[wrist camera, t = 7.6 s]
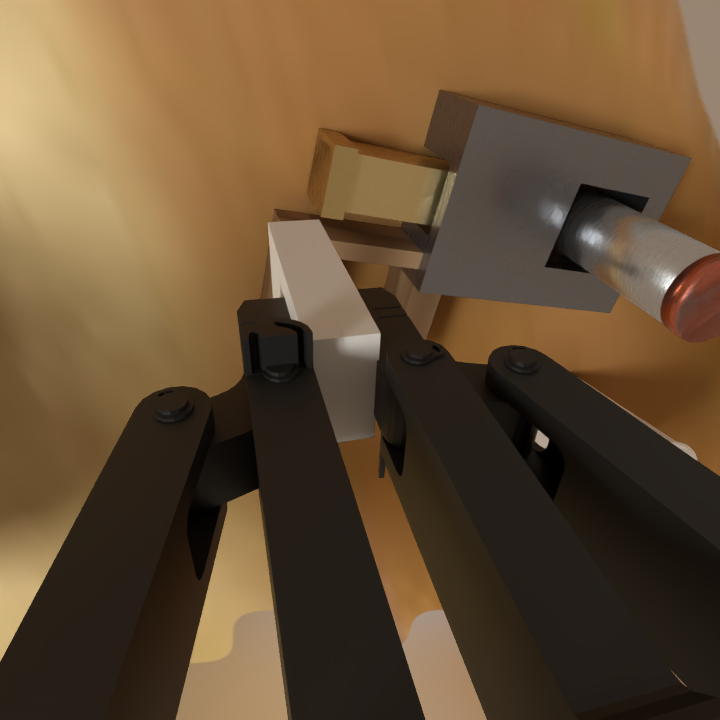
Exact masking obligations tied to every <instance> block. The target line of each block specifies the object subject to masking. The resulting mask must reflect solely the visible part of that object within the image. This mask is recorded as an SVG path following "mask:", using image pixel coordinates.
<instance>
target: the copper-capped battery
mask: <svg viewBox="0 0 720 720" xmlns="http://www.w3.org/2000/svg"><path fill="white" fill-rule="evenodd" d="M553 247H554V248H555V249H557V250H558V251H560V252H561V253H562V254H564V255H565V256H567V257H568V258H570V259H571V260H572V261H574V262H575V263H577V264H578V265H580V266H581V267H582V268H584V269H585V270H587V271H588V272H590V273H591V274H592V275H594V276H595V277H597V278H598V279H600V280H601V281H602V282H604V283H605V284H607V285H608V286H610V287H611V288H612V289H614V290H615V291H617V292H618V293H620V294H621V295H623V296H624V297H625V298H627V299H628V300H630V301H631V302H633V303H634V304H635V305H637V306H638V307H640V308H641V309H643V310H644V311H645V312H647V313H648V314H650V315H651V316H653V317H654V318H655V319H657V320H658V321H660V322H661V323H663V324H664V326H665V327H666V328H668V329H669V330H671V331H672V332H673V333H675V334H676V335H678V336H679V337H681V338H682V339H684V340H686V341H688V342H702V341H706V340H709V339H711V338H713V337H716V336H717V335H719V334H720V251H718V250H716V249H714V248H712V247H710V246H708V245H706V244H704V243H702V242H699V241H697V240H695V239H693V238H691V237H689V236H687V235H685V234H683V233H681V232H679V231H677V230H675V229H673V228H671V227H669V226H667V225H665V224H663V223H661V222H658V221H656V220H654V219H652V218H650V217H648V216H646V215H644V214H642V213H640V212H638V211H636V210H634V209H632V208H630V207H628V206H626V205H624V204H622V203H620V202H617V201H615V200H613V199H611V198H609V197H607V196H605V195H603V194H601V193H599V192H597V191H595V190H593V189H591V188H589V187H587V186H585V185H583V184H581V185H580V187H579V189H578V191H577V194H576V196H575V198H574V201H573V203H572V205H571V208H570V210H569V212H568V214H567V217H566V219H565V221H564V224H563V226H562V228H561V230H560V233H559V235H558V237H557V240H556V242H555V244H554V246H553Z"/></svg>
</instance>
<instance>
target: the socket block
mask: <svg viewBox="0 0 720 720" xmlns="http://www.w3.org/2000/svg"><path fill="white" fill-rule="evenodd" d="M424 146H425V147H426V148H428V149H429V150H431V151H433V152H434V153H436V154H437V155H439V156H440V157H442V158H443V159H445V160H446V161H448V162H449V163H451V165H450V168H449V171H448V175H447V178H446V181H445V184H444V188H443V191H442V194H441V197H440V201H439V204H438V207H437V210H436V213H435V217H434V220H433V223H432V226H430V225H424V224H417V223H411V222H405V221H403V223H402V227H401V229H402V230H403V231H404V232H405V233H406V234H407V236H408V237H409V238H410V239H411V240H412V241H413V242H414V243H415V244H416V245H417V247H418V248H419V249H420V250H421V251H422V252H423V256H422V259H421V262H420V265H419V269H413V268H405V267H400V268H401V269H402V271H403V272H404V273H405V274H406V276H407V277H408V278H409V280H410V281H411V282H412V284H413V285H414V286H415V287H416V289H417V290H418V291H419V292H420V293H429V294H438V295H448V296H457V297H466V298H475V299H484V300H494V301H503V302H512V303H521V304H530V305H540V306H549V307H558V308H567V309H576V310H586V311H595V312H604V313H610V312H611V310H612V308H613V306H614V304H615V303H616V301H617V299H618V297H619V295H620V293H618V292H617V291H615V290H614V289H612V288H611V287H610V286H608V285H607V284H605V283H604V282H602V281H601V280H600V279H598V278H597V277H595V276H594V275H592V274H591V273H590V272H588V271H587V270H585V269H584V268H582V267H581V266H580V265H578V264H577V263H575V262H574V261H572V260H571V259H570V258H568V257H567V256H565V255H564V254H562V253H561V252H560V251H558V250H557V249H555V248H554V247H553V246H554V244H555V242H556V240H557V237H558V235H559V233H560V230H561V228H562V226H563V224H564V221H565V219H566V217H567V214H568V212H569V210H570V208H571V205H572V203H573V201H574V198H575V196H576V194H577V191H578V189H579V187H580V185H581V183H582V184H587V185H591V186H592V187H591V189H593V190H595V191H597V192H599V193H601V194H603V195H605V196H607V197H609V198H611V199H613V200H615V201H617V202H620V203H622V204H624V205H626V206H628V207H630V208H632V209H634V210H636V211H638V212H640V213H642V214H644V215H646V216H648V217H650V218H652V219H654V220H656V221H659V219H660V217H661V216H662V214H663V212H664V210H665V208H666V206H667V204H668V202H669V200H670V198H671V197H672V195H673V193H674V191H675V189H676V187H677V185H678V183H679V181H680V180H681V178H682V176H683V174H684V172H685V170H686V168H687V166H688V164H689V163H690V161H691V159H692V158H689V157H686V156H683V155H680V154H677V153H673V152H670V151H667V150H664V149H661V148H658V147H655V146H652V145H649V144H646V143H643V142H640V141H637V140H634V139H630V138H626V137H622V136H618V135H614V134H611V133H607V132H603V131H599V130H595V129H591V128H587V127H583V126H579V125H575V124H571V123H567V122H564V121H560V120H556V119H552V118H548V117H544V116H540V115H536V114H532V113H528V112H524V111H520V110H517V109H513V108H509V107H505V106H501V105H497V104H493V103H489V102H485V101H481V100H477V99H473V98H470V97H466V96H462V95H458V94H454V93H450V92H446V91H442V90H440V91H439V94H438V98H437V101H436V105H435V109H434V112H433V116H432V119H431V123H430V127H429V130H428V134H427V137H426V141H425V144H424Z"/></svg>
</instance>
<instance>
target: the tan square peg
mask: <svg viewBox="0 0 720 720" xmlns="http://www.w3.org/2000/svg"><path fill="white" fill-rule="evenodd" d="M450 165H451V163H449V162H448V161H446V160H443V159H438V158H433V157H428V156H423V155H419V154H414V153H409V152H404V151H399V150H394V149H389V148H385V147H380V146H375V145H370V144H365V143H360V142H355V141H351V140H348V139H347V138H346V137H345V136H344V135H342V134H341V133H340V132H336V131H331V130H326V129H321V128H319V132H318V137H317V143H316V148H315V154H314V159H313V165H312V170H311V176H310V181H309V187H308V192H307V194H308V196H309V198H310V199H311V201H312V203H313V204H314V206H315V208H316V209H317V211H318V213H319V215H320V216H321V217H324V218H331V219H337V220H343V218H344V214H345V212H347V213H354V214H360V215H367V216H373V217H379V218H386V219H392V220H398V221H405V222H411V223H417V224H424V225H430V226H432V223H433V220H434V217H435V213H436V210H437V207H438V204H439V201H440V197H441V194H442V191H443V188H444V184H445V181H446V178H447V175H448V171H449V168H450Z"/></svg>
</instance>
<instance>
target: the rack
mask: <svg viewBox="0 0 720 720" xmlns="http://www.w3.org/2000/svg"><path fill="white" fill-rule="evenodd" d="M318 219H319V220H320V222H321V224H322V226H323V228H324V229H325V231H326V233H327V235H328V237H329V239H330V241H331V242H332V244H333V246H334V248H335V250H336V252H337V253H338V255H339V257H340V259H341V260H349V261H357V262H365V263H373V264H381V265H389V266H390V270H389V273H388V277H387V280H386V284H385V287H384V289H385V290H387V291H388V292H390V293H392V294H393V295H395V296H396V298H397V299H398V301H399V302H400V304H401V305H402V308H403V309H404V310H405V312H406V313H407V316H409V318H410V319H411V321H412V322H413V324H414V325H415V327H416V328H417V330H418V331H419V333H420V334H421V336H422V337H423V339H425V340H426V338H427V335H428V332H429V330H430V327H431V324H432V321H433V318H434V315H435V312H436V309H437V306H438V303H439V300H440V297H441V295H438V294H429V293H420V292H419V291H418V290H417V289H416V287H415V286H414V285H413V284H412V282H411V281H410V280H409V278H408V277H407V276H406V274H405V273H404V272H403V271H402V269H401V268H400V267H405V268H413V269H419V265H420V262H421V259H422V256H423V252H422V251H421V250H420V249H419V248H418V247H417V245H416V244H415V243H414V242H413V241H412V240H411V239H410V238H409V237H408V236H407V234H406V233H405V232H404V231H403V230H402V229H401V228H395V227H389V226H382V225H376V224H369V223H363V222H356V221H349V220H337V219H331V218H324V217H321V216H316V215H310V214H303V213H297V212H290V211H284V210H277V209H275V210H274V217H273V222H282V221H300V220H318ZM269 298H273V291H272V277H271V262H270V247H269V249H268V256H267V263H266V269H265V276H264V282H263V289H262V295H261V299H269Z"/></svg>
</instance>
